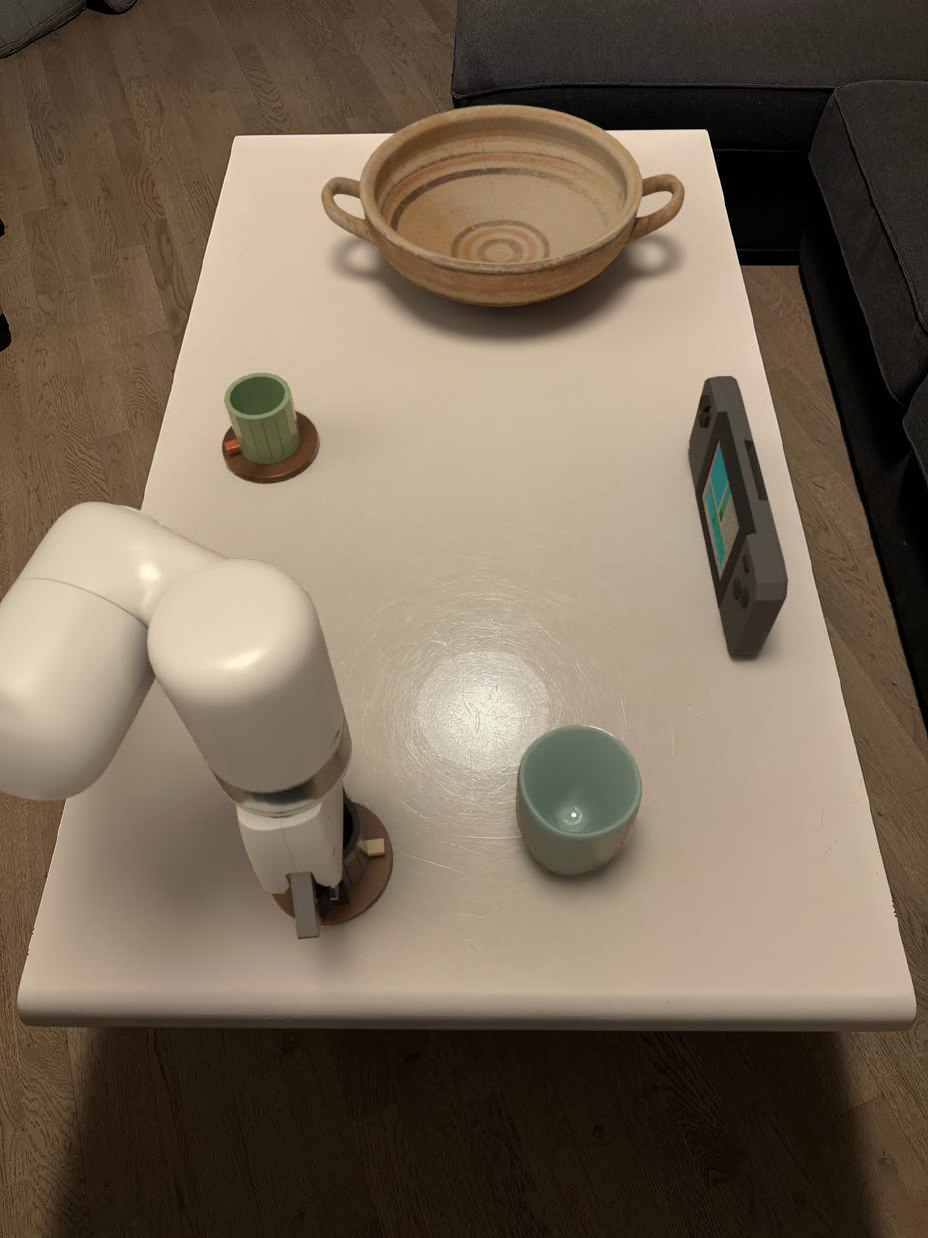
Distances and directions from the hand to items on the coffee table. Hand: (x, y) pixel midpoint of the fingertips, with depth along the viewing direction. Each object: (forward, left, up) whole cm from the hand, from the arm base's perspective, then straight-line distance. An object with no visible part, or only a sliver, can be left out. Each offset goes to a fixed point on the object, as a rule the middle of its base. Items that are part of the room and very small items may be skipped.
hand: (326, 853), depth 65 cm
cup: (+17, +2, -2) cm, 17 cm away
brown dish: (-9, +40, -2) cm, 41 cm away
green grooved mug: (-9, +40, -2) cm, 41 cm away
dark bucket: (0, 0, -2) cm, 2 cm away
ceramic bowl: (+13, +67, -2) cm, 68 cm away
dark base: (0, 0, -2) cm, 2 cm away
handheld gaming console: (+31, +28, -2) cm, 42 cm away
